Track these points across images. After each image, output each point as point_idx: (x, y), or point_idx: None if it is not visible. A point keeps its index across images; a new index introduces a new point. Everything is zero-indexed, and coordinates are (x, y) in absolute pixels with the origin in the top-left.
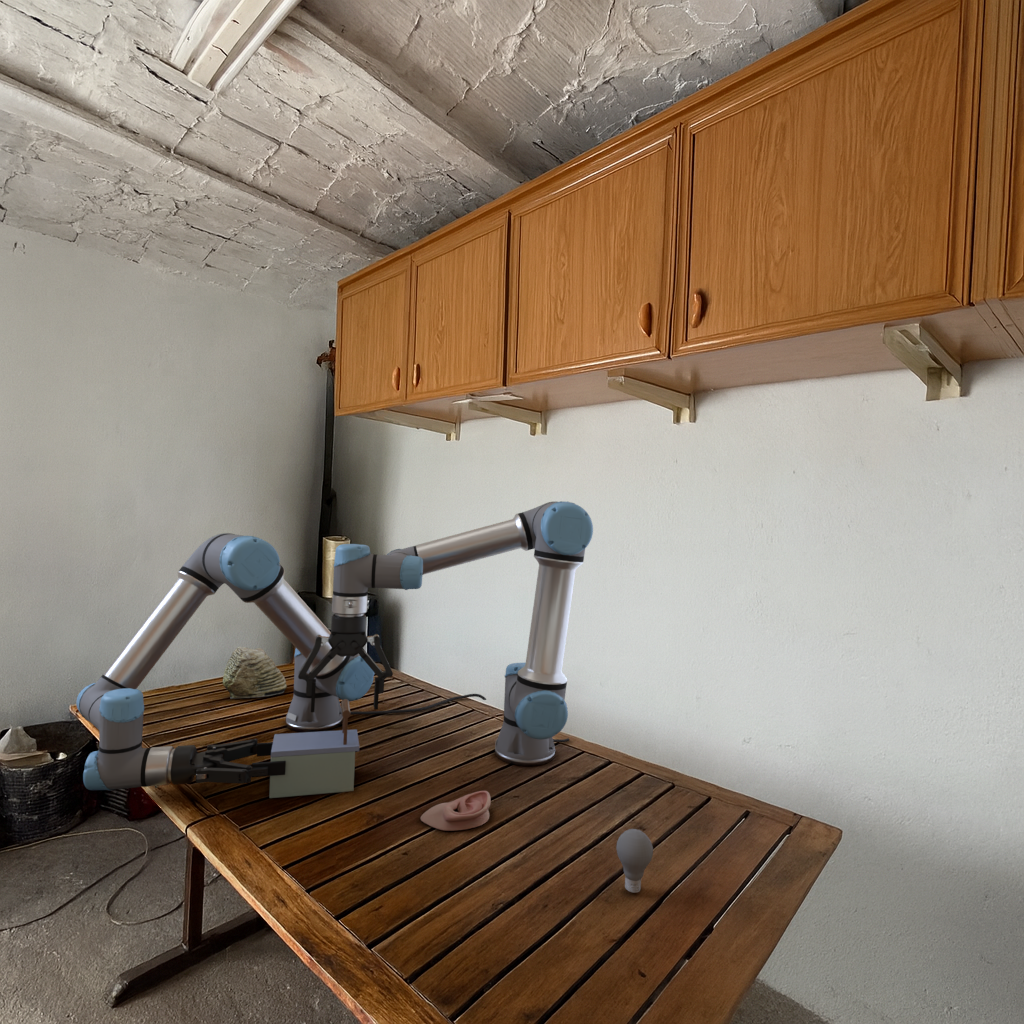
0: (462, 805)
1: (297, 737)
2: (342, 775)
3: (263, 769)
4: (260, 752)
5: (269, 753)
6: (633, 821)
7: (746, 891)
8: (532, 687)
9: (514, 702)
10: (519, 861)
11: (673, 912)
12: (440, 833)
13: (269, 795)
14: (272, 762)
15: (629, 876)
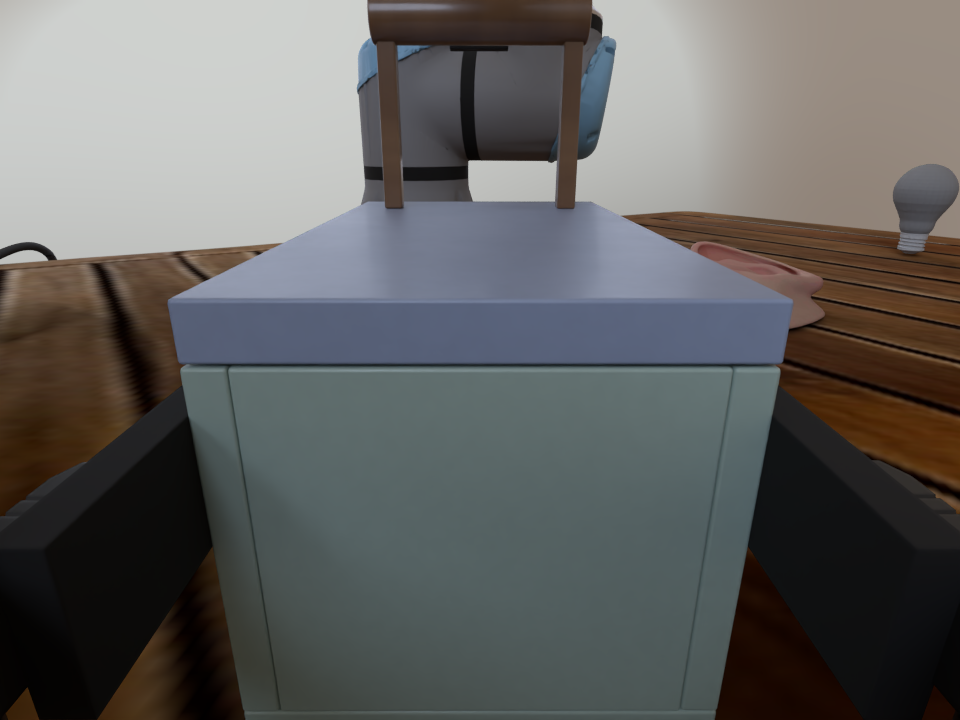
0: (747, 270)
1: (390, 248)
2: None
3: (921, 493)
4: (115, 626)
5: (187, 556)
6: (696, 240)
7: (848, 232)
8: (593, 29)
9: (544, 81)
10: (891, 285)
11: (937, 249)
12: (832, 321)
13: (713, 718)
14: (788, 407)
15: (933, 227)
